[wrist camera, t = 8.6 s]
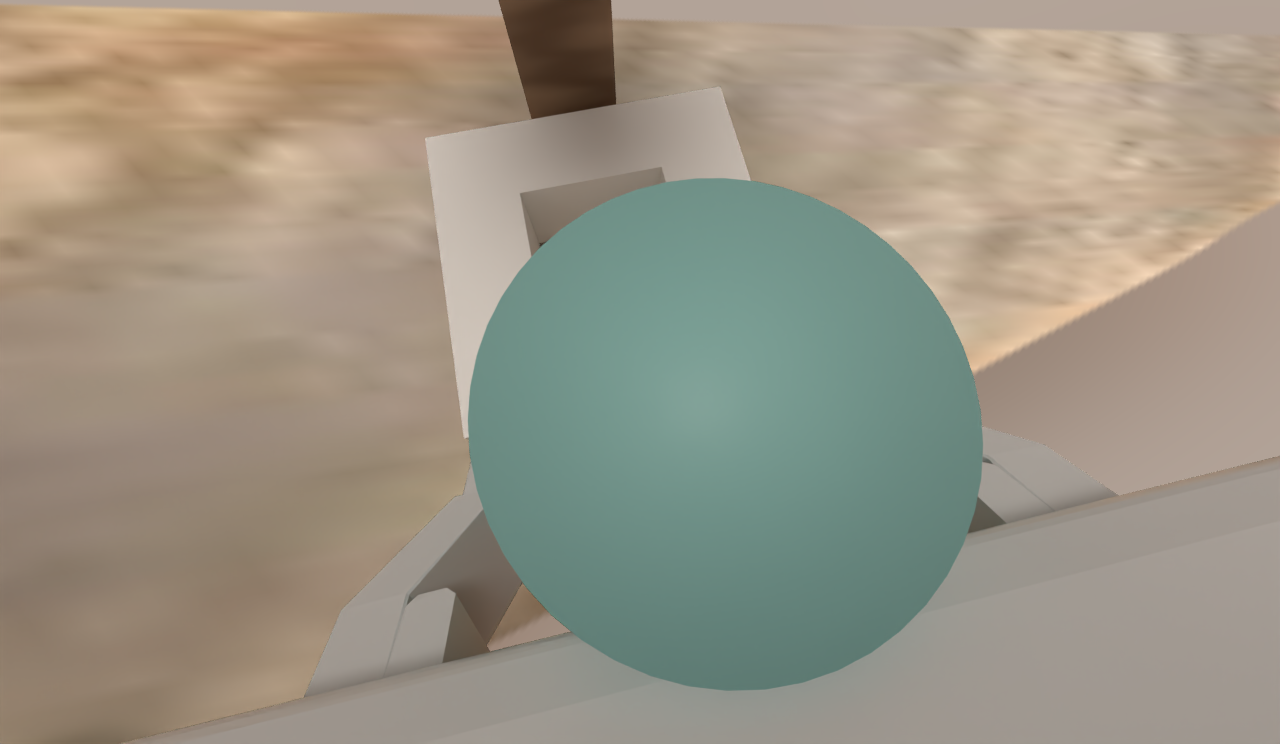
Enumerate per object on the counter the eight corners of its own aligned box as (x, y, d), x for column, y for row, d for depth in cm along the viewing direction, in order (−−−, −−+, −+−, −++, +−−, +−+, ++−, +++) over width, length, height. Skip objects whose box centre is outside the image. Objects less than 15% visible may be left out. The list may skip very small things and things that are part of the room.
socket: (496, 447, 20) (463, 438, 16) (460, 196, 23) (424, 137, 19) (777, 385, 21) (810, 362, 17) (706, 150, 24) (720, 86, 20)
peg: (608, 541, 15) (509, 760, 3) (584, 420, 16) (439, 223, 4) (727, 513, 15) (1071, 611, 3) (697, 396, 16) (879, 142, 4)
